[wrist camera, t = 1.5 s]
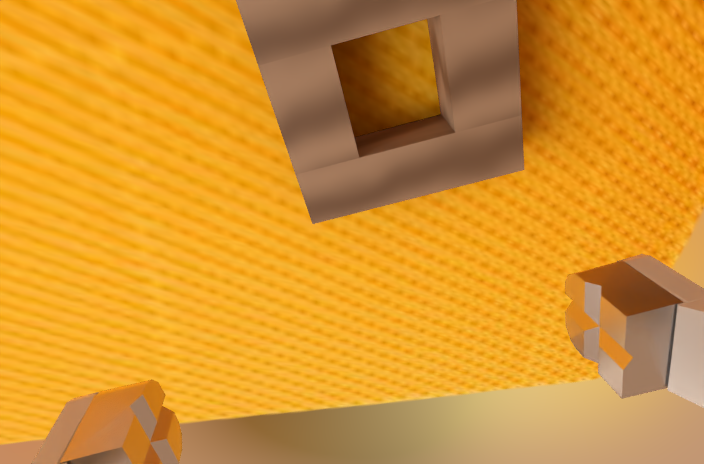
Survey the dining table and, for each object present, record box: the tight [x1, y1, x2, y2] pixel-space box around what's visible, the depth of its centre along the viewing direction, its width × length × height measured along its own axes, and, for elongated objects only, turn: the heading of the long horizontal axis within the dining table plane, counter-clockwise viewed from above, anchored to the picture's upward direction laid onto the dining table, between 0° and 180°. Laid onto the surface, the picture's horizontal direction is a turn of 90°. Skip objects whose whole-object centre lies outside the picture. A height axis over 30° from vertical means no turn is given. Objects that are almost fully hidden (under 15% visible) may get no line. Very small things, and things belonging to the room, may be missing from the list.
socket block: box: [236, 0, 524, 224], centre depth 40 cm, size 20×20×5 cm
